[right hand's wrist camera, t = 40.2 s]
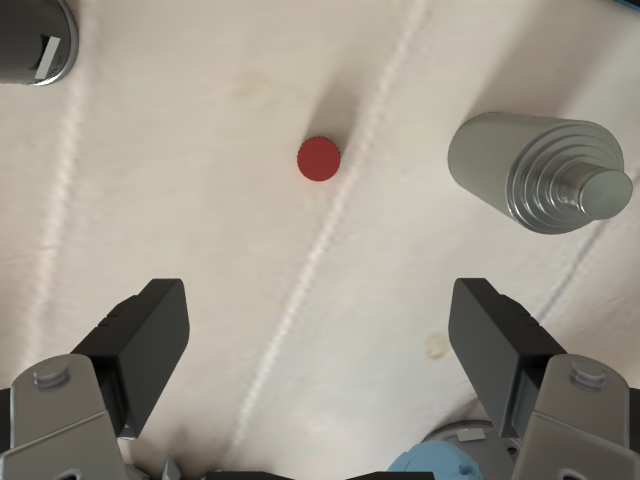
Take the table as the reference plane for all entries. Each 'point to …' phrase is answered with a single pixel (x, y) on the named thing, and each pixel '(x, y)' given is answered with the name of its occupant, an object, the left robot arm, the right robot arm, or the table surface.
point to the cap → (318, 159)
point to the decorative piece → (169, 475)
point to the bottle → (541, 169)
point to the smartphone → (631, 3)
